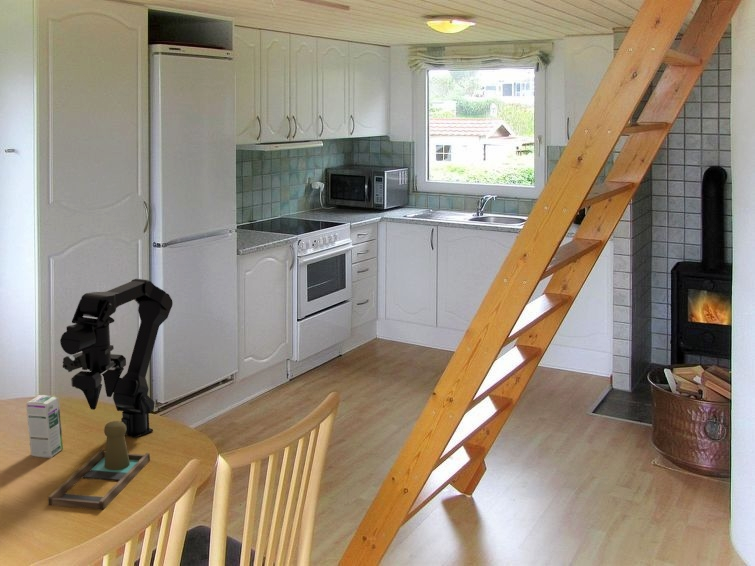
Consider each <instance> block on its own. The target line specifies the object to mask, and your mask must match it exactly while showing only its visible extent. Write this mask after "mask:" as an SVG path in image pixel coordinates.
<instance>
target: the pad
mask: <svg viewBox="0 0 755 566" xmlns="http://www.w3.org/2000/svg"><path fill="white" fill-rule="evenodd" d="M129 461H130V465H129V466H128V467H127V468H124V469H121V470H108V469H106V468H105V467H104V465H105V457H104V458H103V459H102V460H101V461H100V462H98V463H97V464H96V465H95V466H94V467H93V468H92V469H91V471H104V472H116V473H127V472H128V471H129V470H130V469H131V468H132V467H133V466H134V465H135V464H136V463H137V462H138V461H139V460H130V459H129Z"/></svg>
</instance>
